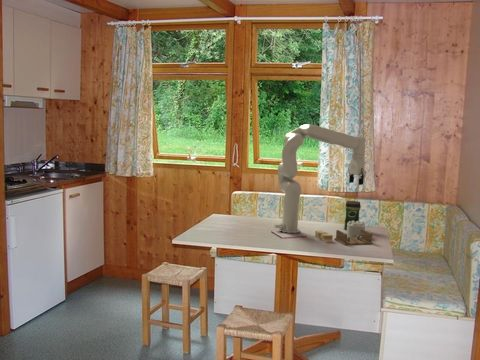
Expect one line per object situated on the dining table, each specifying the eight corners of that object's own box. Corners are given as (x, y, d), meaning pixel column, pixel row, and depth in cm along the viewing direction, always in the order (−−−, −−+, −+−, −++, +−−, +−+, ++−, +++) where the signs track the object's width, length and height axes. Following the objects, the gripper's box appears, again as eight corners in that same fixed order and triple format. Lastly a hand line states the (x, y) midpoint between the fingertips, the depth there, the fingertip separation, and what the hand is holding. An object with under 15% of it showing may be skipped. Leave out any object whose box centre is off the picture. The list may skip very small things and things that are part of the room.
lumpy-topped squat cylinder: (347, 237, 297) (348, 223, 296) (345, 232, 310) (346, 218, 309) (365, 238, 296) (366, 224, 295) (362, 233, 309) (363, 220, 308)
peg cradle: (344, 245, 277) (345, 234, 276) (334, 239, 288) (335, 229, 288) (372, 244, 283) (373, 233, 282) (361, 239, 294) (362, 229, 293)
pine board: (332, 242, 284) (332, 235, 283) (324, 242, 282) (324, 235, 282) (322, 237, 295) (323, 230, 294) (314, 237, 293) (315, 230, 293)
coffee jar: (359, 229, 321) (361, 200, 319) (358, 231, 314) (360, 202, 311) (344, 227, 324) (346, 199, 322) (343, 230, 316) (345, 201, 314)
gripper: (345, 155, 318) (343, 181, 320) (361, 157, 302) (359, 185, 304) (354, 155, 321) (352, 181, 323) (371, 158, 305) (369, 185, 307)
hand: (355, 183), depth 314 cm, fingers open, 9 cm apart
